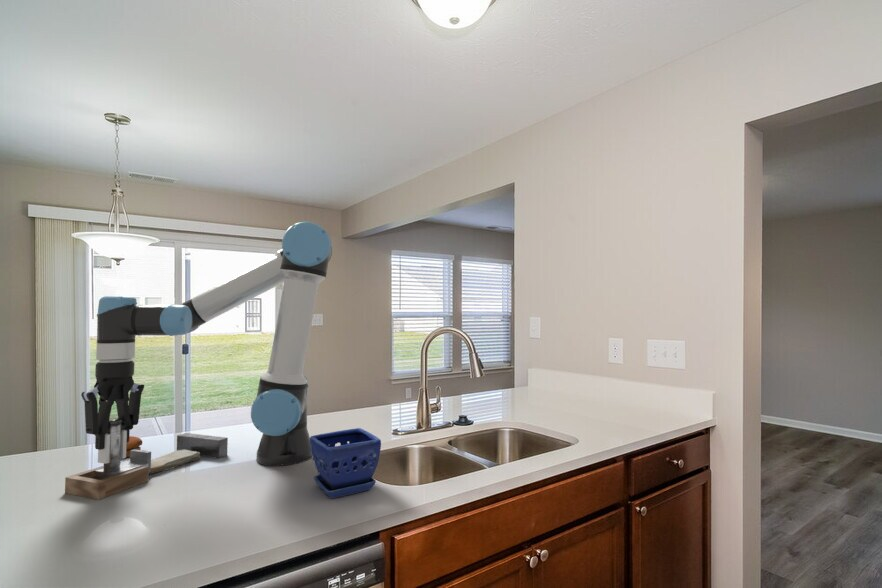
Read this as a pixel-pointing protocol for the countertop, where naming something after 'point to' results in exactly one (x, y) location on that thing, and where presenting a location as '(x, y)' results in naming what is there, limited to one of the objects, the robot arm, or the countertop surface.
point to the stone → (173, 460)
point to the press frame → (104, 483)
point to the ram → (114, 465)
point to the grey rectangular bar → (203, 444)
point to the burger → (133, 444)
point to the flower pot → (345, 461)
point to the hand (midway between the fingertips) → (112, 459)
